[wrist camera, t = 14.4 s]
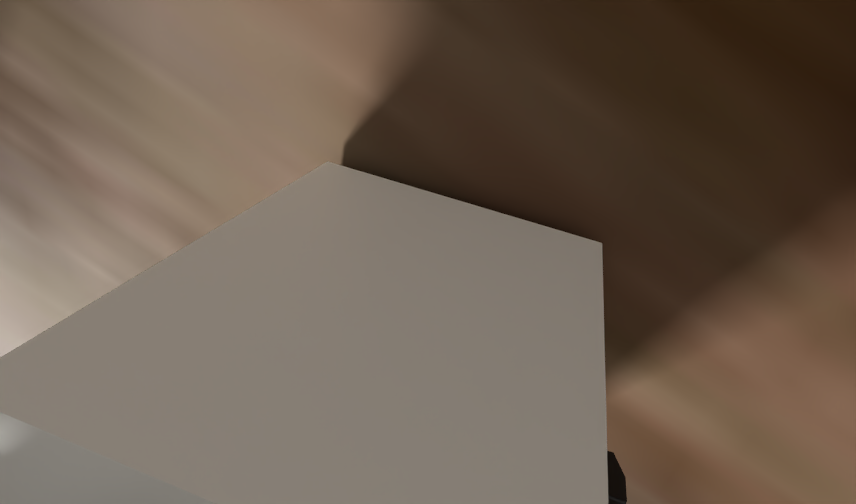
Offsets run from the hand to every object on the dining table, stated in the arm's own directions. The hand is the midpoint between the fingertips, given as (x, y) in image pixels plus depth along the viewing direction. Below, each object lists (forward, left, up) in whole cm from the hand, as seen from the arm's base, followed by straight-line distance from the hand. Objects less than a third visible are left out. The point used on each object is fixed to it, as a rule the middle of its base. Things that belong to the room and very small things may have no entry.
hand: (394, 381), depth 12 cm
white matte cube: (0, 0, -3) cm, 3 cm away
